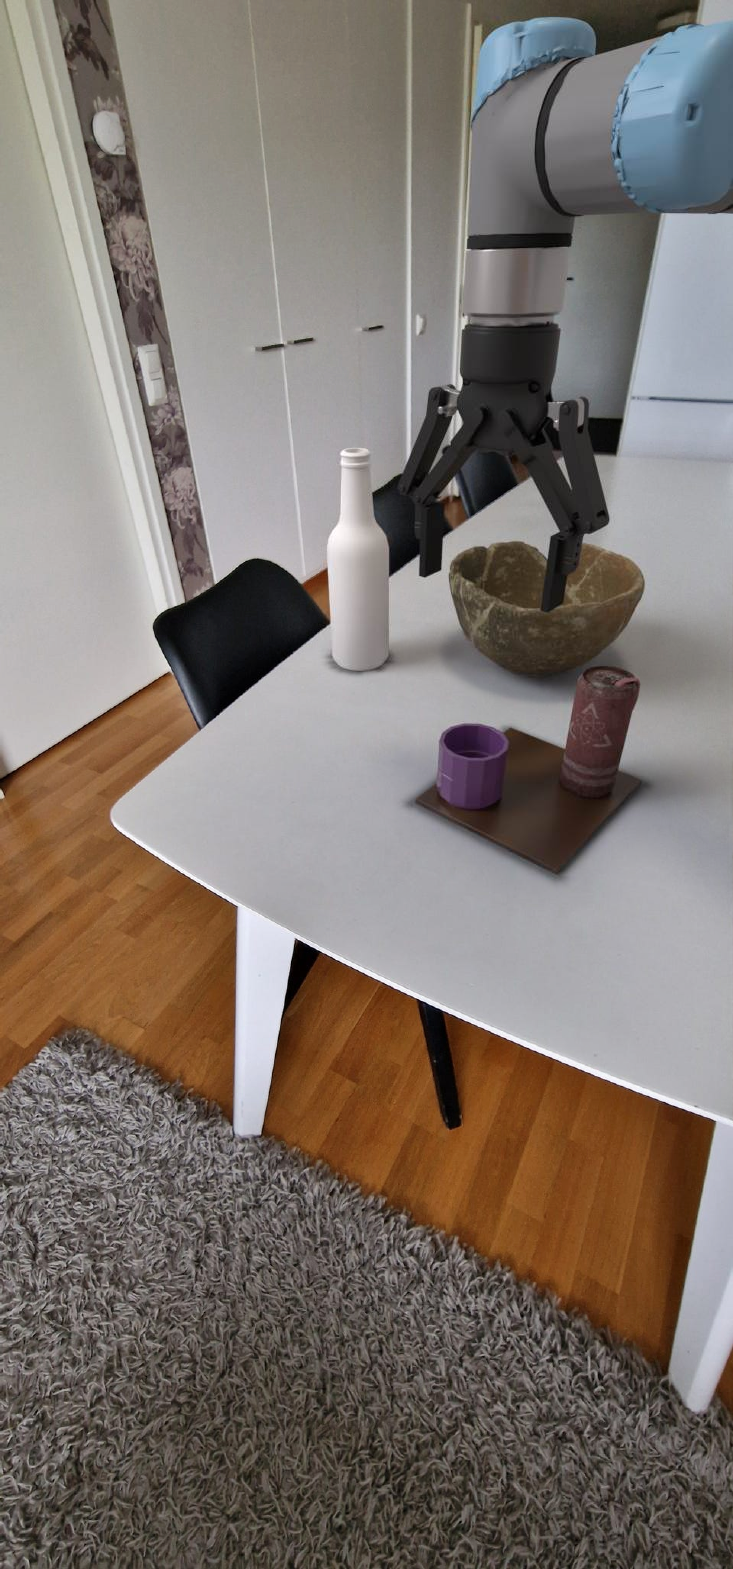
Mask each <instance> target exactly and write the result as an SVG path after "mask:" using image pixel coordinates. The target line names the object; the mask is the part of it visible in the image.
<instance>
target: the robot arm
mask: <svg viewBox="0 0 733 1569" xmlns="http://www.w3.org/2000/svg"><path fill="white" fill-rule="evenodd" d="M596 38H597V37H596V33H595V31H594V29H593V28H592V26H591V25H590V24H589V23H588V22H586V21H583V20H581V19H578V18H572V17H565V16H563V17H560V16H559V17H558V16H547V17H545V16H544V17H535V18H532V19H530V20H525V21H520V20H519V21H513V22H510V23H507V24H504V25H502V26H499V27H497V28H496V29H494V30H493V31H492V32H491V33H489V35H488V36H487V37H486V38H485V40H484V41H483V43H482V45H481V47H480V51H479V54H478V61H477V70H476V80H475V90H474V100H473V101H474V102H473V108H472V115H471V116H470V122H469V123H470V131H471V142H470V144H471V146H470V165H469V186H468V208H467V209H468V210H467V228H466V237H467V239H466V250H465V259H464V260H465V262H464V278H463V279H464V280H463V294H462V307H461V308H462V313H463V314H464V316H467V317H469V323H467V324H465V325H464V328H462V329H461V338H460V354H459V355H460V356H459V375H460V377H461V378H462V384H461V388H460V390H458V389H457V388H456V386H455V385H454V384H452V383H448V384H445V385H444V384H443V385H439V386H433V387H431V388H430V389H429V390H428V394H427V402H426V411H425V412H426V414H425V416H424V418H423V422H422V425H421V427H420V429H419V432H418V434H417V437H416V439H415V441H414V444H413V446H412V449H411V451H410V454H409V457H408V459H407V462H406V464H405V466H404V469H403V472H402V474H401V476H400V478H399V482H398V483H397V492H398V494H399V495H401V496H407V497H408V498H410V499H411V500H412V502H413V504H414V535H415V538H416V539H417V540H418V539H419V557H418V558H419V559H418V560H419V561H418V562H419V563H418V564H419V565H418V576H419V577H421V578H428V577H430V576H432V575H434V574H436V573H439V572H441V571H442V568H443V567H442V566H443V546H444V526H445V525H444V523H445V505H446V504H445V502H442V501H436V500H438V499H441V498H442V496H441V494H442V493H443V491H444V490H445V489H446V487H447V486H448V485H449V484H450V483H451V482H452V480H453V479H454V477H456V476H457V474H458V473H459V471H460V470H461V469H462V468H463V466H464V465H465V464H466V463H467V462H468V460H469V459H470V458H471V456H472V455H473V454H474V452H476V450H477V453H483V454H486V453H492V452H494V453H496V454H498V455H500V456H503V457H513V456H516V457H517V459H518V461H519V463H520V464H521V465H523V466H525V468H526V469H527V471H528V473H529V475H530V477H531V479H532V481H533V483H534V485H535V487H536V488H537V490H538V492H539V494H540V496H541V498H542V500H543V502H544V504H545V506H546V508H547V509H548V511H549V514H550V515H551V518H552V519H553V522H554V523H555V525H556V527H557V529H558V532H556V533H554V534H552V535H550V536H549V537H550V538H549V545H548V552H547V566H546V573H545V581H544V588H543V595H542V602H541V610H540V611H543V612H547V613H548V612H550V611H552V610H553V609H555V608H557V607H558V606H560V605H561V604H563V601H564V595H565V588H566V582H567V576H568V575H569V574H571V573H573V572H574V571H576V569H577V567H578V566H579V559H580V553H581V547H582V543H583V541H584V536H585V535H591V534H593V533H595V532H597V531H599V530H601V529H603V528H604V527H607V526H608V525H609V523H610V521H611V520H610V514H609V510H608V505H607V502H606V498H605V494H604V490H603V489H604V488H603V486H602V482H601V478H600V473H599V469H598V465H597V461H596V456H595V453H594V449H593V446H592V441H591V437H590V433H589V412H590V402H589V399H588V398H587V397H586V396H578V397H575V398H570V399H568V400H554V397H553V392H552V390H553V389H552V386H553V382H554V378H555V375H556V371H557V364H558V357H559V356H558V355H559V348H560V339H561V332H562V329H561V328H559V324H558V323H555V322H554V320H555V316H559V315H560V314H561V313H562V312H563V311H564V304H565V297H566V296H565V295H566V287H567V280H568V273H569V271H568V270H569V264H570V257H571V248H572V244H573V243H572V242H573V234H574V227H575V219H576V217H583V216H595V215H621V214H695V215H696V214H697V215H698V214H699V215H701V214H702V215H703V214H704V215H705V214H707V215H716V214H727V215H728V214H729V215H730V214H731V215H733V20H726V21H721V22H717V23H711V24H706V25H704V24H701V23H697V22H694V23H691V24H686V25H682V26H679V27H677V28H676V30H674V31H669V32H667V33H666V34H663V35H660V36H657V37H654V38H650V39H647V40H644V41H639V42H637V43H634V44H630V45H626V46H623V47H620V48H617V49H613V50H609V51H606V52H602V53H598V54H596V48H597V47H596V46H597V39H596ZM570 247H571V248H570ZM457 411H458V415H459V416H460V418H461V421H462V423H463V424H462V425H461V427H460V428H459V429H458V430H457V431H456V433H455V434H454V436H453V437H452V439H451V440H450V442H449V446H448V448H447V449H446V450H445V451H444V453H443V454H442V455H441V457H440V458H439V459H438V460H437V462H436V463H435V465H433V464H434V462H435V459H436V458H437V455H438V453H439V451H440V449H441V446H442V444H443V442H444V440H445V437H446V435H447V432H448V430H449V428H450V426H451V423H452V421H453V417H454V416H455V415H456V413H457ZM550 420H552V421H553V423H552V426H553V428H554V430H556V431H557V432H558V440H559V446H560V449H561V454H562V458H563V461H564V465H565V469H566V473H567V477H568V480H569V481H568V480H567V478H566V476H565V474H564V472H563V470H562V468H561V466H560V465H559V462H558V460H557V459H556V457H555V454H554V452H553V451H554V446H553V444H552V442H551V440H550V438H549V435H548V434H547V432H546V430H545V427H546V426H547V424H548V423H549V422H550ZM435 501H436V502H435Z"/></svg>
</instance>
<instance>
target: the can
mask: <svg viewBox="0 0 733 1569" xmlns="http://www.w3.org/2000/svg"><path fill="white" fill-rule="evenodd" d="M640 689H641V682H640V680H639V679H638V678H636V677H635V676H634V674H633V673H631V672H630V671H628V670H626V669H624V668H621V667H618V666H613V665H593V666H590V667H587V668H585V669H584V670H583V671H582V674H581V675H580V676H579V677H578V678H577V682H576V687H575V695H574V698H573V704H572V709H571V714H570V720H569V725H568V732H567V736H566V742H565V746H564V749H565V752H564V758H563V763H562V768H561V774H560V780H561V782H562V784H563V786H564V787H565V788H566V789H567V791H569V792H571V793H572V794H574V795H577V796H580V797H584V798H598V797H602V796H604V795H606V794H608V793H609V792H610V791H611V790H612V789H613V787H614V785H615V781H616V777H617V772H618V770H619V767H620V763H621V760H622V755H623V752H624V748H625V744H626V739H627V736H628V731H629V728H630V723H631V718H632V715H633V711H634V709H635V706H636V704H637V702H638V699H639V694H640Z"/></svg>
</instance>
